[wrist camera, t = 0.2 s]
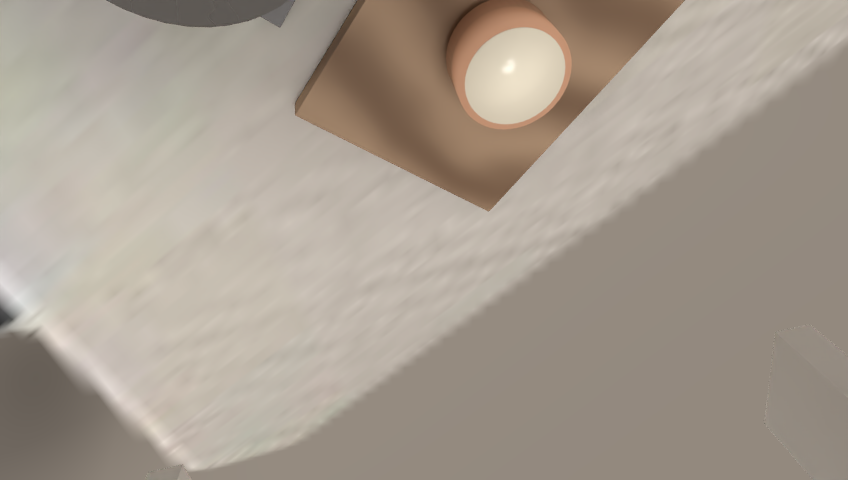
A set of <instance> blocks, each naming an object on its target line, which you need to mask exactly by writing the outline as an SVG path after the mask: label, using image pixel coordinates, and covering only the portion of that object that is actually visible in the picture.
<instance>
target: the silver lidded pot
mask: <svg viewBox="0 0 848 480" xmlns="http://www.w3.org/2000/svg"><path fill="white" fill-rule="evenodd" d="M107 1H109V2H111V3H113V4H115V5H117V6H119V7H121V8H122V9H125V10H128V11H130V12H133V13H135V14H138V15H140V16H143V17H146V18H149V19H153V20H157V21H161V22H164V23H169V24H175V25H182V26H189V27H216V26H227V25H232V24H237V23H241V22H245V21H249V20H252V19H254V18H257V17H260V16H262V15H265V14H267V13H269V12H271V11H272V10H274V9H276V8H278V7H280V6H281V5H283V4H284V3H286V2H287V1H288V0H107Z"/></svg>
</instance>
